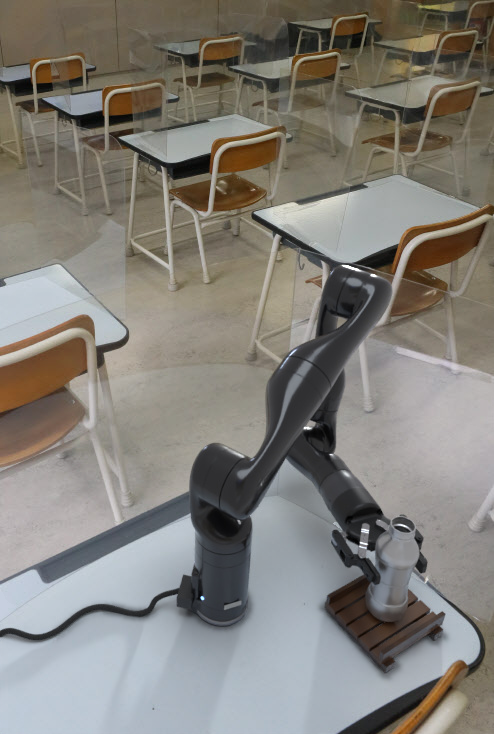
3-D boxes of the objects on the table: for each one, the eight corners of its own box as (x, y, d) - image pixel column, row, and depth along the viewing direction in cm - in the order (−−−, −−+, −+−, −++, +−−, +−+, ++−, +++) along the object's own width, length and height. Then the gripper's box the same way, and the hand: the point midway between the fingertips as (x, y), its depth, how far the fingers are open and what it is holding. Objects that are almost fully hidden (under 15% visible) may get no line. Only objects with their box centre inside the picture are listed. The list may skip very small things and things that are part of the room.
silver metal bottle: (406, 631, 111) (429, 544, 101) (363, 623, 112) (381, 537, 102) (403, 598, 116) (424, 512, 106) (362, 591, 118) (379, 506, 108)
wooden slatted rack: (382, 674, 107) (386, 657, 105) (321, 608, 118) (324, 592, 116) (444, 633, 113) (449, 616, 111) (380, 574, 124) (384, 558, 122)
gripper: (314, 494, 117) (363, 569, 103) (389, 478, 120) (446, 548, 107) (310, 526, 121) (357, 602, 107) (382, 509, 124) (437, 581, 110)
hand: (401, 575), depth 107 cm, fingers open, 7 cm apart
